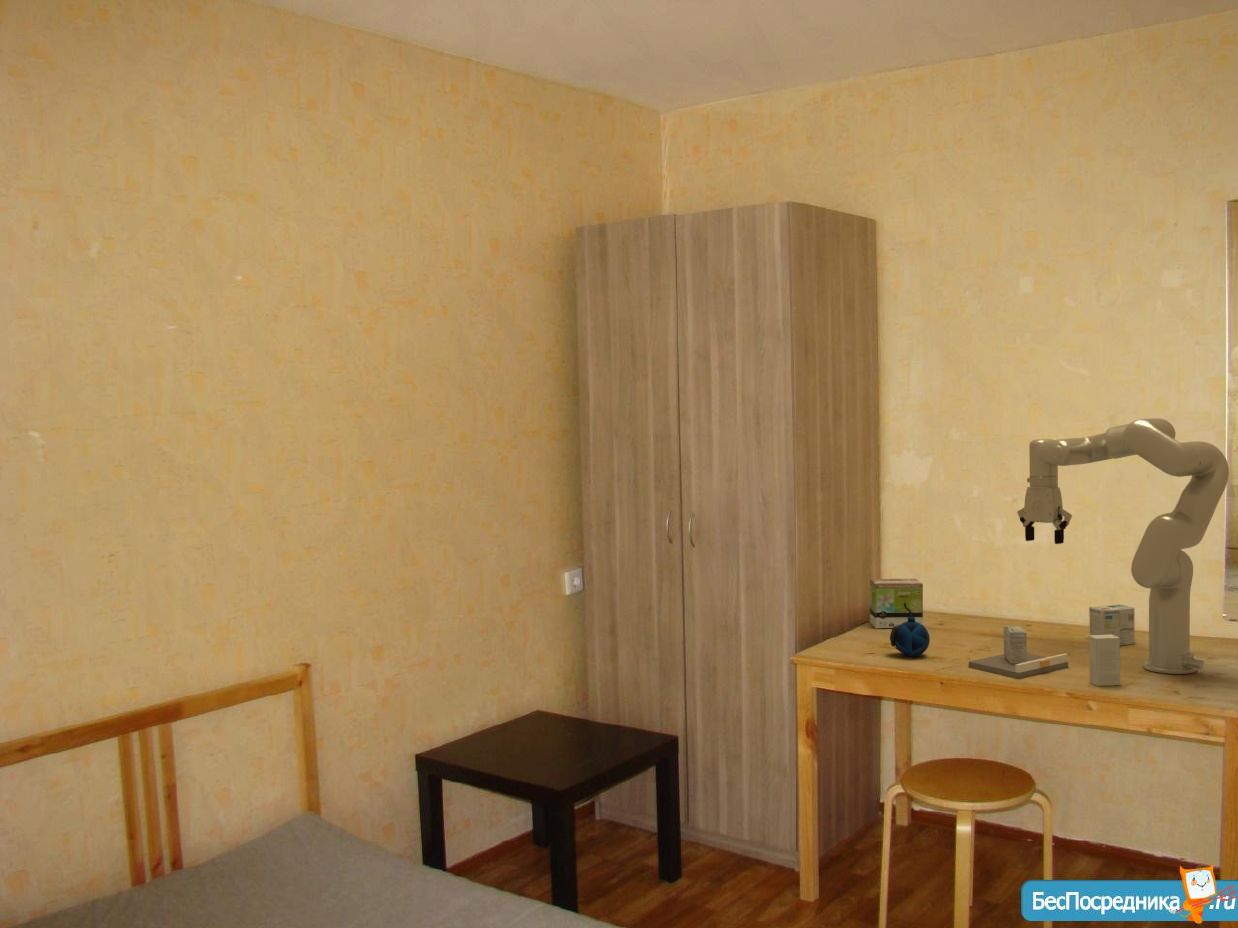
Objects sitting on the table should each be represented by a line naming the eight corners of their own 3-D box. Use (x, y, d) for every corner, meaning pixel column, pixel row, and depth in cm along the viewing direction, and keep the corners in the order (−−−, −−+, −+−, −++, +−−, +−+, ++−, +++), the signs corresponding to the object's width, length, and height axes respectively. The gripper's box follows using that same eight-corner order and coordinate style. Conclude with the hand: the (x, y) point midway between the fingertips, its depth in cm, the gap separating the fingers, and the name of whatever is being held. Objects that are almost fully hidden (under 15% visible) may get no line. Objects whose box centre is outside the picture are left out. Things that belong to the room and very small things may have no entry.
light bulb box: (1119, 639, 318) (1119, 603, 317) (1136, 644, 311) (1135, 607, 311) (1088, 642, 315) (1088, 606, 315) (1104, 647, 309) (1104, 610, 308)
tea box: (875, 629, 342) (875, 583, 342) (869, 623, 352) (868, 578, 352) (923, 628, 342) (923, 582, 341) (916, 622, 352) (915, 577, 351)
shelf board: (1070, 667, 286) (1070, 654, 286) (1020, 679, 276) (1020, 665, 276) (1017, 656, 301) (1017, 643, 300) (968, 667, 290) (968, 654, 290)
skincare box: (1112, 681, 271) (1112, 633, 271) (1120, 685, 267) (1120, 637, 267) (1088, 682, 271) (1088, 634, 271) (1096, 686, 267) (1096, 638, 266)
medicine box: (1027, 664, 285) (1027, 631, 285) (1009, 664, 286) (1009, 631, 285) (1020, 657, 293) (1020, 625, 292) (1003, 657, 294) (1003, 625, 293)
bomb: (890, 651, 311) (889, 599, 311) (929, 652, 308) (928, 600, 308) (889, 659, 302) (888, 605, 301) (930, 660, 299) (929, 606, 298)
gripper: (1009, 482, 315) (1010, 540, 316) (1061, 484, 300) (1062, 545, 301) (1026, 480, 319) (1027, 538, 319) (1078, 482, 304) (1079, 543, 305)
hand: (1044, 542), depth 310 cm, fingers open, 9 cm apart
